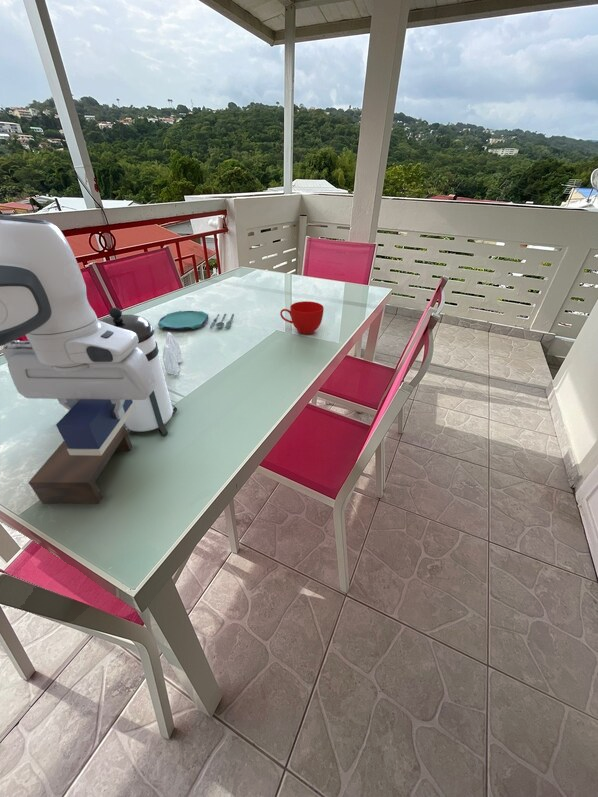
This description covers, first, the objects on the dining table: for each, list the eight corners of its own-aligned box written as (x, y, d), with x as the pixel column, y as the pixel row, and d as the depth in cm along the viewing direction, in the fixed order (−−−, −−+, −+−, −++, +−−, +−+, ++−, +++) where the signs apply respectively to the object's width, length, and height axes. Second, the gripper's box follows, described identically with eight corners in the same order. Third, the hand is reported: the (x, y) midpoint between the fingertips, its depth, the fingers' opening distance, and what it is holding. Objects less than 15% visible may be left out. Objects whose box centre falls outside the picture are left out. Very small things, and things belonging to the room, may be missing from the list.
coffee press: (195, 421, 85) (170, 307, 68) (132, 451, 75) (85, 328, 58) (164, 394, 95) (136, 289, 78) (106, 418, 86) (59, 304, 69)
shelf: (42, 503, 64) (27, 482, 60) (85, 446, 77) (75, 426, 73) (99, 503, 64) (88, 482, 60) (132, 446, 77) (125, 426, 73)
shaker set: (171, 358, 113) (164, 328, 106) (184, 357, 113) (177, 327, 107) (165, 376, 103) (156, 344, 97) (179, 375, 103) (171, 343, 97)
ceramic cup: (282, 324, 139) (281, 300, 133) (322, 325, 138) (323, 301, 133) (279, 336, 128) (278, 312, 123) (322, 338, 128) (324, 313, 122)
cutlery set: (169, 314, 147) (168, 309, 146) (236, 315, 146) (235, 310, 145) (152, 332, 130) (150, 327, 129) (227, 333, 130) (227, 328, 129)
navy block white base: (101, 455, 52) (88, 426, 48) (69, 455, 52) (54, 425, 48) (135, 406, 62) (126, 379, 59) (109, 406, 62) (98, 379, 59)
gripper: (-21, 350, 45) (26, 428, 53) (129, 351, 45) (153, 429, 53) (12, 331, 50) (50, 405, 58) (147, 333, 50) (166, 406, 58)
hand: (100, 416), depth 55 cm, fingers closed on navy block white base, 5 cm apart
